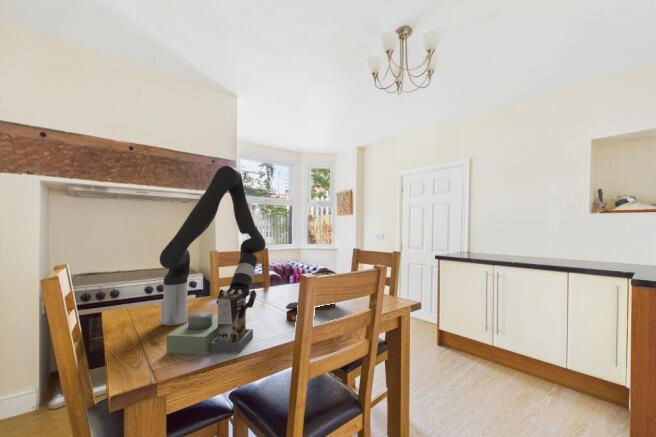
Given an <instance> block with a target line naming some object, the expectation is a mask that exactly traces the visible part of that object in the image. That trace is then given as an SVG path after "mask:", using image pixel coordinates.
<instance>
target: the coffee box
mask: <svg viewBox="0 0 656 437" xmlns="http://www.w3.org/2000/svg"><path fill="white" fill-rule="evenodd" d="M243 297H244V299H245V301H246V302H247V297H246V293H242V294H239V293H234V294H226V295H225V296H223V297H221V298H218V297H217V299H218V305H217V318H218V342H229V343H237V342H238V341H239V340H240V339H241V338H242V337H243V336H244V335H245V334H246V329H247V326H246V324H247V323H246V322H247V319H246V318H247V317H246V316H247V314H246V313H247V312H245V316H244V317H242V319H240V318H239V313H240V309H241V306H243V305H242V302H243Z"/></svg>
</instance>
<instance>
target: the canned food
mask: <svg viewBox="0 0 656 437" xmlns="http://www.w3.org/2000/svg"><path fill="white" fill-rule="evenodd" d="M298 303H299V302H295V301H294V302H290V303H288V304H287V305H286V306H285V309H286V310H287V311H286V313H285V314H286V320H287V321H288V322H292V323H297V322H296V315H297V305H298Z"/></svg>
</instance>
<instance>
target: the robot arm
mask: <svg viewBox="0 0 656 437" xmlns="http://www.w3.org/2000/svg"><path fill="white" fill-rule="evenodd" d="M227 192H228V193H229V195H230V197H231V198H230V199H231V200H232V201H231V202H232V207H233V208H232V209H233V213H234V214H233V215H234V219H235V222H236V226H237V227H238V228H237V229H238V230H239V233H240V234H241V235H248V236H249V237H250V238H246V239H244V240H243V241H242V242H241V244H240V247H239V248H240V250H239V252H240V253H239V254H240V257H239V261H238V263H237V266H236V268H235V271H234V273H233V276H232V278H231V282H230V285H229V288H228V289H227V290H224V289H220V290H219V292H218V295H217V299H216V304H217V306H218V298H221V297H223V296H225V295H227V294H234V293H239V294H242V293H246V298H247V297H248V296H249V298H248V301H247V300H246V301H245V299H244V297H243V302H242V305H243V306H241V309H240V313H239V318H240V319H242V317H244V316H245V312H246V311H247V309H251V308H253V306H254V303H255V300H256V297H257V292H256V290H254V289H253V290H251V286H252V282H253V279H254V276H255V271H256V267H257V262H258V258H257V256H256V255H255V254H257V253H261V252H263V251H264V250H265V248H266V240H265V238H264V236H263V235H262V234H261V232H260V231H259V229H258V227H257V226H256V224H255V222H254V218H253V216H252V213H251V210H250V207H249V206H250V205H249V204H248V201H247V197H246V194H245V192H246V191H245V188H244V181H243V176H242V173H241V172H240V171H239V170H238V168H235V167H233V166H231V165H228V164H227V165H223V166H220V167H219V168H217V171H216V172H215V174H214V176H213V177H212V180H211V181H210V183H209V185H208V187H207V188H206V190H205V192H204V193H203V195H202V196H201V197H200V199H199V200H198V202H197V203H196V204H195V206H194V207H193V208H192V210H191V212H190V213H189V214H188V216H187V218H186V219H185V221H184V222H183V223H182V225H181V226H180V228H179V229H178V231H177V232H176V234H175V235H174V237H173V238H172V239H171V240H170V241H169V243H168V244H167V245H166V246H165V247H164V248H163V250H162V251H161V253H160V256H159V264H160V265H161V266H162V267H163V268H165V269H168V270H167V273H166V274H165V276H164V277H163V301H161V303H160V304H161V306H160V325H163V326H167V327H170V326H171V327H172V326H179V325H180V326H181V325H182V324H183V325H184V324H186V323H188V278H189V276H190V270H191V268H190V267H191V266H190V264H191V254H190V251H189V250H188V248H189V247H190V245H191V244H192V243H193V242H194V241H196V239H198V238H199V237H200V236H201V235H203V233H205V231H206V230H207V229H208V228H209V226H210V225H211V223H212V222H213V221H214V219H215V217H216V216H217V213H218V211H219V206H220V203H221V201H222V200H223V198H224V196H225V195H226V193H227ZM246 313H247V312H246Z"/></svg>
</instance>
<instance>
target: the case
mask: <svg viewBox="0 0 656 437" xmlns="http://www.w3.org/2000/svg"><path fill="white" fill-rule="evenodd" d="M331 274H338V273H336V272H335V271H334V270H330V269H320V270H318V271H315V272H314V273H312V274H311V275H317V276H320V275H331ZM336 304H337V302H336V303H335V304H330V305H324V306H320V307H316V308H315V309H314V310H315V311H329V310H332V309H334V308H335V307H336Z"/></svg>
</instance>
